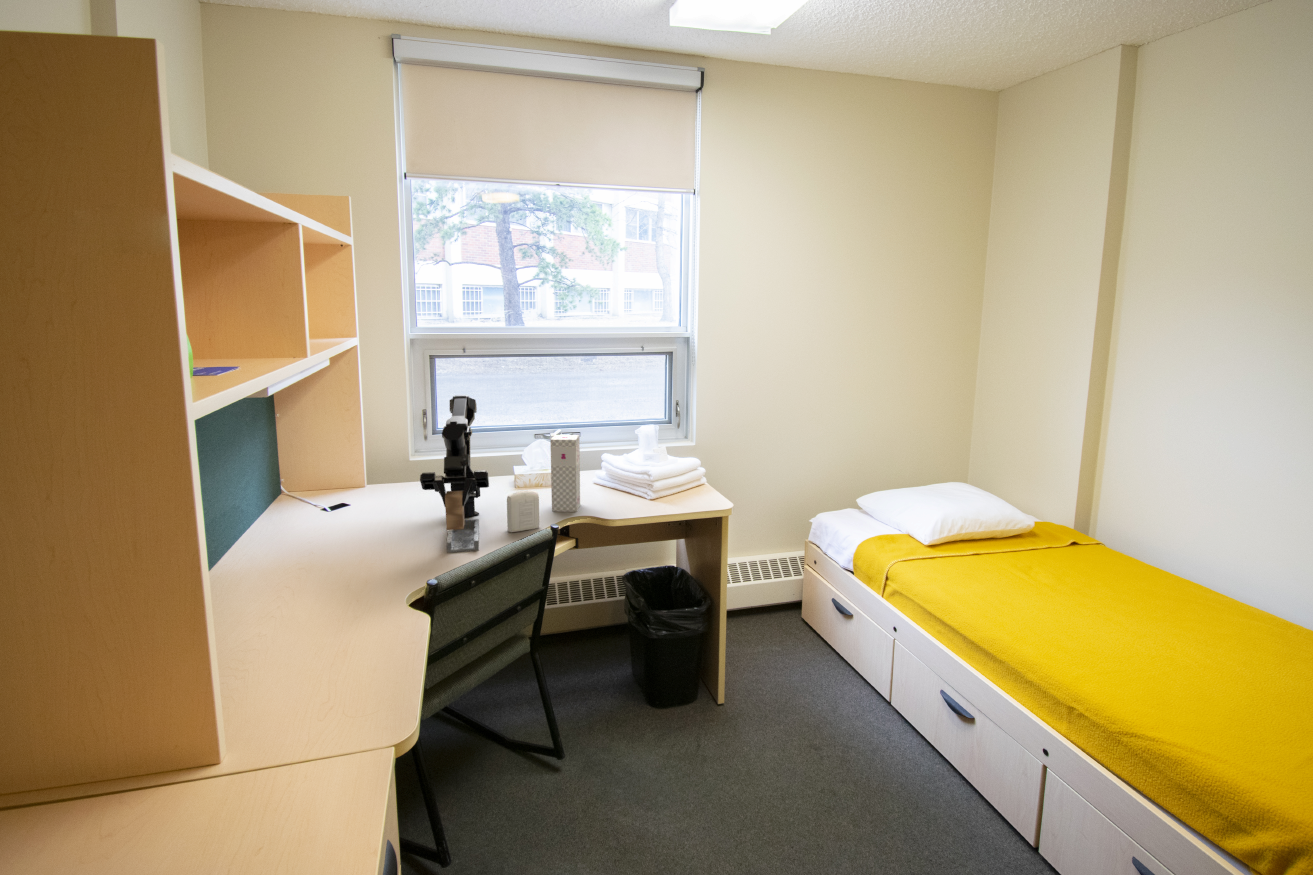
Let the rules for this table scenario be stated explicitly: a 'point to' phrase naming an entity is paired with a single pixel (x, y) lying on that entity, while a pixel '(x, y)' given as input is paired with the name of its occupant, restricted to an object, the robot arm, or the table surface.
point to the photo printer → (522, 511)
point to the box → (565, 473)
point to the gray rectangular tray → (464, 537)
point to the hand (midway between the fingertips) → (454, 506)
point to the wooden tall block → (454, 510)
